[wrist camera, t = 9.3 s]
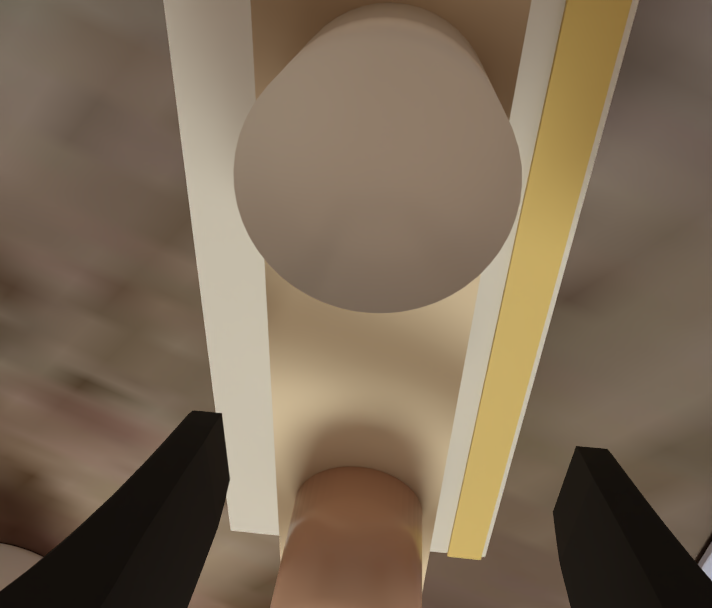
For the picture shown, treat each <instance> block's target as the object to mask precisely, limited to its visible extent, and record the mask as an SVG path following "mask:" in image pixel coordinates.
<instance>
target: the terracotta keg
mask: <svg viewBox="0 0 712 608" xmlns="http://www.w3.org/2000/svg"><path fill="white" fill-rule="evenodd" d="M422 519H423V513H422V506H421V503H420V501H419V499H418V497H417V496H416V494H415V493H414V492H413V491H412V490H411V488H410V487H408V486H407V485H406V484H405V483H403V482H402V481H400V480H399V479H397V478H396V477H393V476H391V475H389V474H387V473H384V472H382V471H378V470H375V469H370V468H365V467H337V468H332V469H328V470H325V471H322V472H319V473H317V474H315V475H313V476H312V477H310V478H309V479H308V480H306V481H305V482H304V483H303V484H302V486H301V487H300V489H299V490H298V492H297V495H296V499H295V503H294V508H293V512H292V516H291V520H290V525H289V529H288V533H287V538H286V542H285V546H284V550H283V555H282V559H281V563H280V568H279V572H278V576H277V581H276V585H275V589H274V593H273V598H272V602H271V606H270V608H422Z"/></svg>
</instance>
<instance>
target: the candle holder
mask: <svg viewBox="0 0 712 608" xmlns="http://www.w3.org/2000/svg"><path fill="white" fill-rule="evenodd" d="M42 558H43V557H42V556H40V555H38V554H36V553H33V552H31V551H28V550H26V549H23V548H19V547H16V546H12V545H8V544H3V543H0V591H1V590H2V589H3V588H5V587H6V586H7V585H9V584H10V583H11V582H13V581H14V580H15V579H17V578H18V577H19V576H21V575H22V574H23V573H25V572H26V571H27V570H28V569H30V568H31V567H32V566H33V565H35V564H36V563H37V562H38V561H39V560H41V559H42Z"/></svg>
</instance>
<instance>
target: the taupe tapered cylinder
mask: <svg viewBox="0 0 712 608" xmlns="http://www.w3.org/2000/svg"><path fill="white" fill-rule="evenodd" d="M233 173H234V190H235V196H236V202H237V206H238V210H239V213H240V216H241V219H242V222H243V224H244V226H245V229H246V231H247V233H248V235H249V237H250V239H251V240H252V242H253V244H254V245H255V247H256V249H257V250H258V252H259V253H260V254H261V255H262V257H263V258H264V259H265V260H266V262H267V263H268V264H269V265H270V266H271V267H272V268H273V269H274V270H275V271H276V272H277V273H278V274H279V275H280V276H281V277H282V278H284V279H285V280H286V281H287V282H289V283H290V284H291V285H292V286H294V287H295V288H297V289H299V290H300V291H302V292H303V293H305V294H307V295H309V296H311V297H313V298H315V299H317V300H319V301H321V302H324V303H327V304H329V305H332V306H335V307H338V308H342V309H347V310H351V311H357V312H366V313H394V312H404V311H408V310H413V309H418V308H421V307H424V306H427V305H430V304H433V303H436V302H438V301H440V300H442V299H445V298H447V297H449V296H451V295H452V294H454V293H456V292H457V291H459V290H461V289H462V288H464V287H465V286H467V285H468V284H469V283H470V282H472V281H473V280H474V279H475V278H477V277H478V276H479V275H480V274H481V273H482V272H483V271H484V270H485V269H486V268H487V267H488V266H489V265H490V263H491V262H492V261H493V259H494V258H495V257H496V256H497V254H498V253H499V252H500V250H501V248H502V247H503V245H504V243H505V241H506V240H507V238H508V236H509V234H510V232H511V229H512V227H513V224H514V222H515V219H516V216H517V212H518V208H519V204H520V198H521V189H522V164H521V159H520V153H519V147H518V144H517V141H516V138H515V135H514V132H513V128H512V126H511V124H510V122H509V120H508V118H507V116H506V114H505V112H504V109H503V107H502V105H501V103H500V101H499V99H498V97H497V95H496V93H495V91H494V89H493V86H492V84H491V82H490V80H489V78H488V76H487V74H486V72H485V70H484V68H483V66H482V64H481V62H480V60H479V58H478V56H477V54H476V52H475V50H474V49H473V47H472V46H471V44H470V43H469V42H468V40H467V39H466V38H465V37H464V36H463V35H462V34H461V33H460V31H459V30H458V29H456V28H455V27H454V26H453V25H451V24H450V23H449V22H448V21H446V20H445V19H443V18H441V17H440V16H438V15H436V14H435V13H433V12H430V11H428V10H425V9H423V8H421V7H417V6H413V5H409V4H402V3H392V2H391V3H375V4H370V5H365V6H361V7H358V8H356V9H353V10H350V11H348V12H346V13H344V14H342V15H340V16H338V17H336V18H335V19H333V20H332V21H331V22H329V23H328V24H327V25H325V26H324V27H323V28H322V29H321V30H320V31H319V32H318V33H317V34H316V35H314V37H313V38H312V39H311V40H310V41H309V42H308V43H307V44H306V45H305V46H304V47H303V48H302V49H301V50H300V51H299V53H298V54H297V55H296V56H295V57H294V58H293V59H292V60H291V61H290V62H289V63H288V64H287V65H286V66H285V68H284V69H283V70H282V71H281V72H280V73H279V74H278V75H277V76H276V77H275V78H274V79H273V80H272V81H271V82H270V84H269V85H268V86H267V87H266V88H265V90H264V91H263V92H262V93H261V95H260V96H259V97H258V98H257V100H256V101H255V103H254V105H253V106H252V108H251V110H250V112H249V113H248V115H247V117H246V119H245V122H244V124H243V127H242V129H241V132H240V134H239V138H238V142H237V147H236V151H235V159H234V169H233Z"/></svg>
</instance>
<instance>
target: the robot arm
mask: <svg viewBox="0 0 712 608" xmlns="http://www.w3.org/2000/svg"><path fill="white" fill-rule="evenodd" d="M229 482H230V475H229V467H228V459H227V451H226V443H225V434H224V426H223V418H222V413H214V412H203V411H192V412H191V413H189V414H188V415H187V416H186V417H185V419H184V420H183V421H182V422H181V423H180V424H179V425H178V427H177V428H176V429H175V430H174V431H173V432H172V433H171V434H170V435H169V437H168V438H167V439H166V440H165V441H164V442H163V443H162V444H161V445H160V447H159V448H158V449H157V450H156V451H155V452H154V453H153V454H152V455H151V456H150V457H149V458H148V459H147V461H146V462H145V463H144V464H143V465H142V466H141V467H140V468H139V469H138V470H137V471H136V472H135V473H134V474H133V475H132V476H131V477H130V478H129V479H128V480H127V481H126V482H125V483H124V484H123V485H122V486H121V487H120V488H119V489H118V490H117V491H116V492H115V493H114V494H113V495H112V496H111V497H110V498H109V499H108V500H107V501H106V502H105V503H104V504H103V505H102V506H101V507H100V508H98V509H97V510H96V511H95V512H94V513H93V514H92V515H91V516H90V517H89V518H88V519H87V520H86V521H85V522H84V523H82V524H81V525H80V526H79V527H78V528H77V529H76V530H75V531H74V532H72V533H71V534H70V535H69V536H68V537H67V538H66V539H65V540H63V541H62V542H61V543H60V544H59V545H58V546H56V547H55V548H54V549H53V550H52V551H50V552H49V553H48V554H47V555H46V556H44V557H43V558H42V559H41V560H39V561H38V562H37V563H36V564H35V565H33V566H32V567H31V568H30V569H28V570H27V571H26V572H25V573H23V574H22V575H21V576H19V577H18V578H17V579H15V580H14V581H13V582H11V583H10V584H9V585H7V586H6V587H5V588H3V589H2V590H1V591H0V608H187V607H188V605H189V602H190V600H191V597H192V594H193V592H194V589H195V587H196V584H197V581H198V579H199V576H200V573H201V571H202V568H203V566H204V563H205V560H206V558H207V555H208V552H209V550H210V547H211V545H212V542H213V539H214V537H215V534H216V531H217V528H218V525H219V521H220V518H221V514H222V510H223V506H224V502H225V498H226V494H227V490H228V486H229ZM553 516H554V524H555V533H556V541H557V547H558V554H559V561H560V566H561V570H562V574H563V578H564V582H565V586H566V590H567V594H568V598H569V602H570V606H571V608H712V542H711V544H710V545H709V547H708V548H707V550H706V552H705V553H704V555H703V556H702V558H701V560H700V561H699V563H698V564H697V563H696V562H695V561H694V559H693V558H692V557H691V556H690V555H689V553H688V552H687V551H686V550H685V548H684V547H683V546H682V545H681V543H680V542H679V541H678V540H677V539H676V537H675V536H674V535H673V534H672V532H671V531H670V530H669V529H668V527H667V526H666V525H665V524H664V522H663V521H662V520H661V519H660V517H659V516H658V515H657V513H656V512H655V511H654V510H653V508H652V507H651V506H650V504H649V503H648V502H647V500H646V499H645V498H644V497H643V495H642V494H641V493H640V491H639V490H638V489H637V487H636V486H635V485H634V483H633V482H632V481H631V479H630V478H629V477H628V475H627V474H626V473H625V471H624V470H623V469H622V467H621V466H620V465H619V463H618V462H617V461H616V459H615V458H614V457H613V455H612V454H611V453H610V452H609V450H608V449H601V448H590V447H579V446H576V448H575V451H574V454H573V457H572V460H571V462H570V465H569V468H568V471H567V474H566V477H565V479H564V482H563V485H562V488H561V491H560V493H559V496H558V499H557V502H556V505H555V508H554V510H553Z"/></svg>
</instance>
